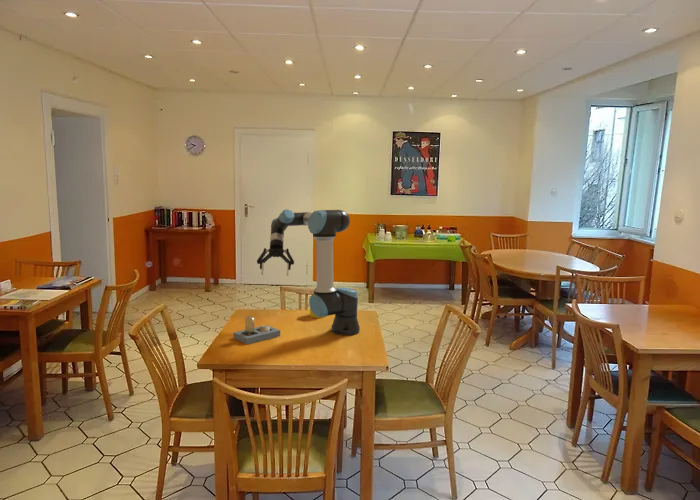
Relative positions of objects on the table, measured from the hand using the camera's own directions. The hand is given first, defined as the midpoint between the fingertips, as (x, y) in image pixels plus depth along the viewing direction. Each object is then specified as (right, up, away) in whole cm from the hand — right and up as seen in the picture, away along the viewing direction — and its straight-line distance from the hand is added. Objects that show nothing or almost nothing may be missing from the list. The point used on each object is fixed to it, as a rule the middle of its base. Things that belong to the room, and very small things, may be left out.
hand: (274, 274), depth 275 cm
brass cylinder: (-9, -31, -22) cm, 39 cm away
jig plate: (-6, -31, -19) cm, 37 cm away
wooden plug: (-3, -31, -16) cm, 35 cm away
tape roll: (+22, -26, +22) cm, 41 cm away
